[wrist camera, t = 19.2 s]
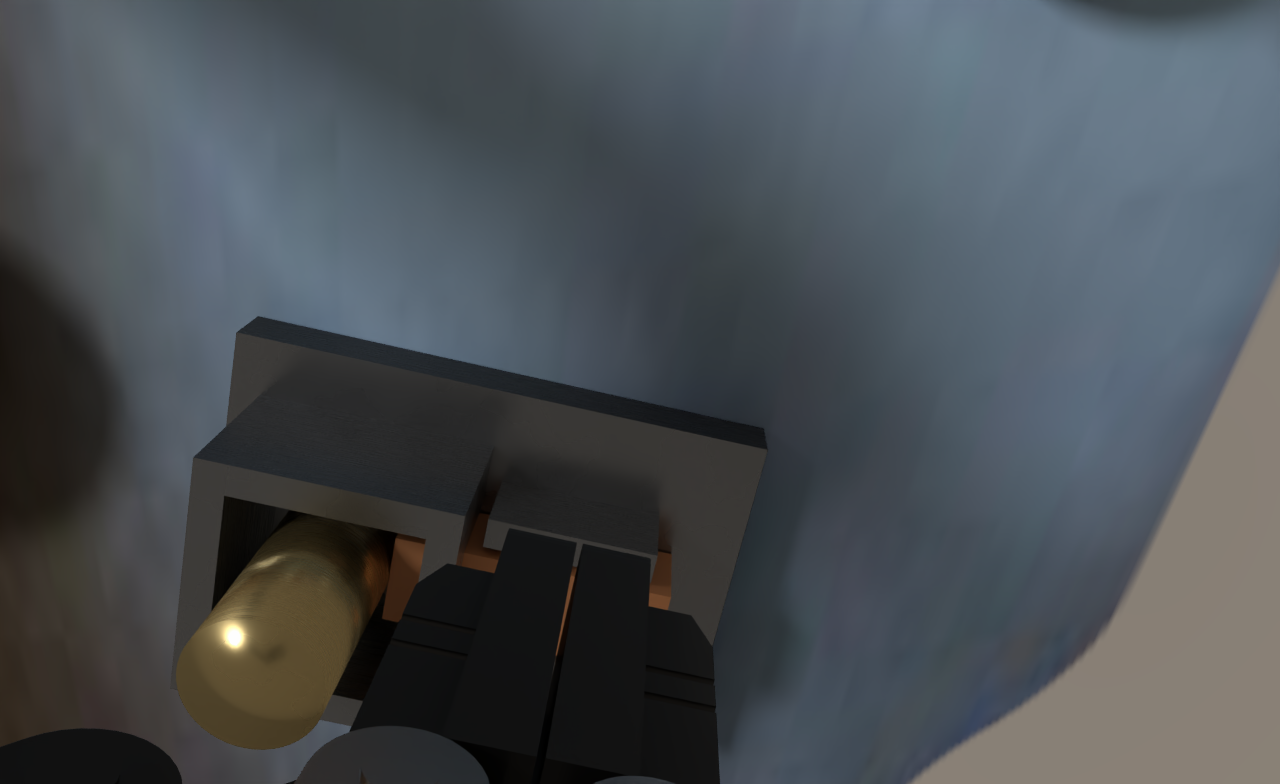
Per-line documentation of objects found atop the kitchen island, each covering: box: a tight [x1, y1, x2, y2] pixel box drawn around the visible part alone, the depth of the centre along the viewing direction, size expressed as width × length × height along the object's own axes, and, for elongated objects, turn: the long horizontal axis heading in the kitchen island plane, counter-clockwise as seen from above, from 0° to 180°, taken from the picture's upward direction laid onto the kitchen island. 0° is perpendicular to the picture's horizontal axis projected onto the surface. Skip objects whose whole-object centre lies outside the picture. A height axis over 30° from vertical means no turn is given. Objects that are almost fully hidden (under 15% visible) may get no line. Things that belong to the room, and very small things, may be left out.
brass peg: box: [176, 510, 398, 750], centre depth 35 cm, size 4×4×10 cm
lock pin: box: [382, 513, 672, 656], centre depth 38 cm, size 9×3×3 cm, turn 77°
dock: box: [170, 316, 768, 726], centre depth 38 cm, size 18×12×8 cm, turn 77°
